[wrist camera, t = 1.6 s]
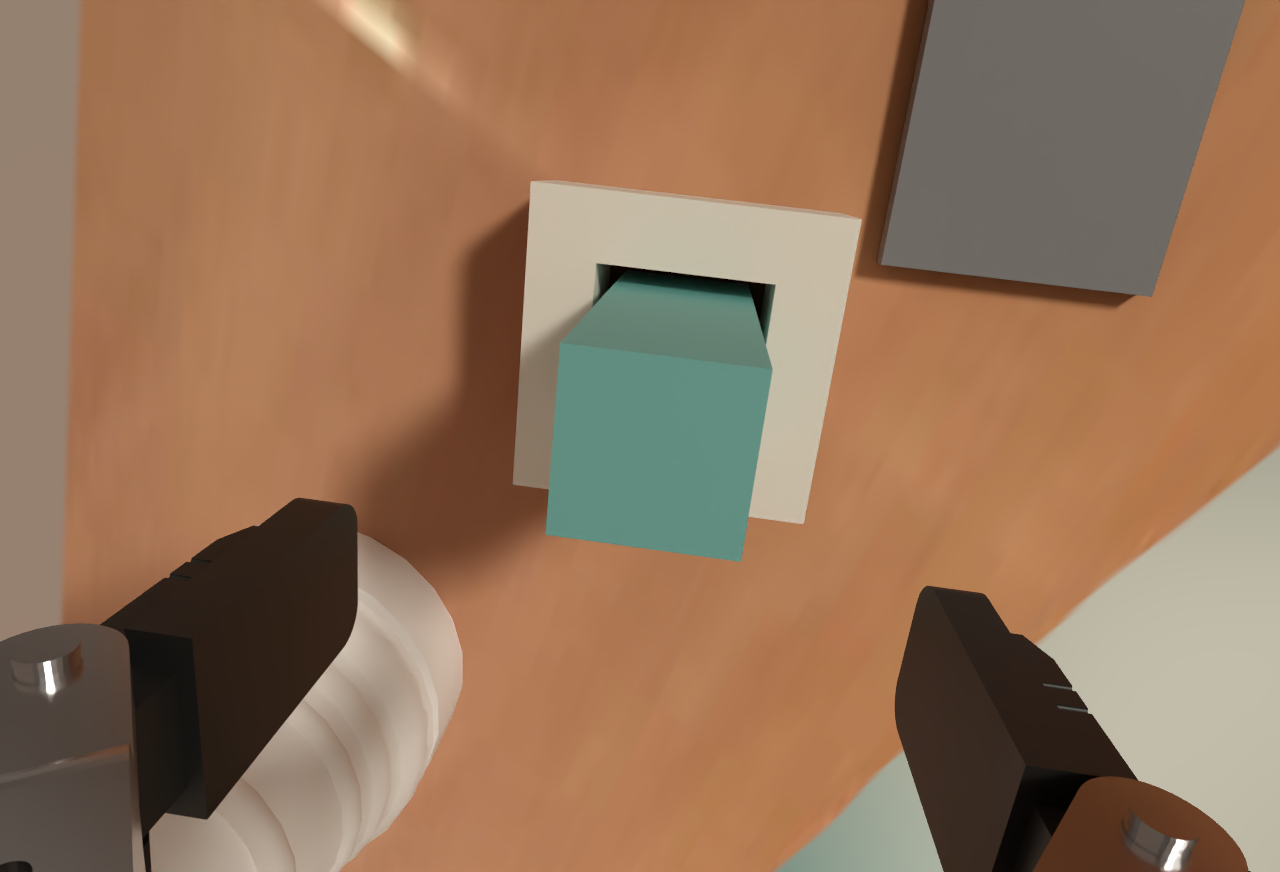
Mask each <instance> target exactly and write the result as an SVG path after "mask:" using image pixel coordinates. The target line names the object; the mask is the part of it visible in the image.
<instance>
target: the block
mask: <svg viewBox="0 0 1280 872" xmlns="http://www.w3.org/2000/svg"><path fill="white" fill-rule="evenodd" d="M772 371H773V369H772V365H771V362H770V358H769V355H768V351H767V348H766V344H765V341H764V337H763V334H762V330H761V327H760V323H759V320H758V316H757V313H756V309H755V306H754V302H753V299H752V295H751V292H750V288H749V285H748V284H740V283H732V282H723V281H715V280H707V279H698V278H690V277H682V276H674V275H665V274H657V273H649V272H640V271H632V270H626V271H625V273H624V274H623V275H622V276H621V277H620V278H619V279H618V280H617V281H616V282H615V283H614V284H613V286H612V287H611V288H610V289H609V290H608V291H607V292H606V293H605V294H604V295H603V296H602V298H601V299H600V300H599V301H598V302H597V303H596V304H595V305H594V306H593V307H592V308H591V310H590V311H589V312H588V313H587V314H586V315H585V316H584V317H583V318H582V319H581V320H580V322H579V323H578V324H577V325H576V326H575V327H574V328H573V329H572V330H571V331H570V332H569V334H568V335H567V336H566V337H565V338H564V339H563V340H562V341H561V342H560V350H559V364H558V377H557V390H556V403H555V416H554V429H553V442H552V455H551V468H550V482H549V495H548V508H547V521H546V534H545V535H552V536H559V537H566V538H573V539H581V540H588V541H595V542H602V543H609V544H617V545H624V546H631V547H638V548H645V549H653V550H660V551H667V552H674V553H681V554H689V555H696V556H703V557H710V558H717V559H725V560H732V561H739V562H741V558H742V552H743V546H744V540H745V534H746V528H747V522H748V516H749V510H750V504H751V498H752V492H753V486H754V480H755V474H756V468H757V462H758V456H759V450H760V444H761V438H762V431H763V425H764V419H765V413H766V407H767V401H768V395H769V389H770V383H771V377H772Z"/></svg>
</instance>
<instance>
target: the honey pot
mask: <svg viewBox="0 0 1280 872" xmlns="http://www.w3.org/2000/svg"><path fill="white" fill-rule="evenodd" d="M259 525H261V524H258V525H255V526H259ZM357 534H358V608H357V615H356V620H355V624H354V627H353V630H352V633H351V635H350V638H349V640H348V642H347V643H346V645H345V646H344V648H343V649H342V650H341V652H340V653H339V654H338V656H337V657H336V658H335V659H334V661H333V662H332V663H331V664H330V666H329V667H328V668H327V669H326V671H325V672H324V673H323V674H322V676H321V677H320V678H319V680H318V681H317V682H316V683H315V685H314V686H313V687H312V688H311V690H310V691H309V692H308V693H307V695H306V696H305V697H304V698H303V700H302V701H301V702H300V703H299V705H298V706H297V707H296V709H295V710H294V711H293V712H292V714H291V715H290V716H289V717H288V719H287V720H286V721H285V722H284V724H283V725H282V726H281V727H280V729H279V730H278V731H277V733H276V734H275V735H274V736H273V738H272V739H271V740H270V741H269V743H268V744H267V745H266V746H265V748H264V749H263V750H262V751H261V753H260V754H259V755H258V756H257V758H256V759H255V760H254V762H253V763H252V764H251V765H250V767H249V768H248V769H247V770H246V772H245V773H244V774H243V775H242V777H241V778H240V779H239V780H238V782H237V783H236V784H235V786H234V787H233V788H232V789H231V791H230V792H229V793H228V794H227V796H226V797H225V798H224V799H223V801H222V802H221V803H220V804H219V806H218V807H217V808H216V810H215V811H214V812H213V813H212V815H211V816H210V817H209V818H208V820H205V819H199V818H192V817H186V816H180V815H174V814H168V813H165V814H164V815H163V816H162V817H161V818H160V819H159V820H158V822H157V823H156V824H155V825H154V826H153V827H152V829H151V830H150V837H151V845H152V857H153V872H340V870H341V869H342V868H343V866H344V865H345V864H346V863H348V862H349V861H351V860H352V859H354V858H355V857H356V856H357V855H358V853H359V852H360V851H361V850H362V848H363V847H364V846H365V845H366V844H368V843H369V842H371V841H372V840H374V839H375V838H377V837H378V836H379V835H381V834H382V833H384V832H385V831H386V830H387V829H388V828H389V827H390V825H391V824H392V823H393V822H394V820H395V819H396V818H397V816H398V815H399V814H400V812H401V811H402V810H403V808H404V807H405V806H406V804H407V803H408V802H409V800H410V799H411V798H412V796H413V795H414V793H415V790H416V787H417V784H418V782H419V781H420V780H421V778H422V777H423V774H424V771H425V769H426V768H427V766H428V765H429V763H430V761H431V759H432V757H433V755H434V753H435V750H436V748H437V746H438V744H439V742H440V740H441V738H442V736H443V734H444V732H445V730H446V728H447V726H448V724H449V722H450V720H451V718H452V715H453V713H454V710H455V706H456V703H457V700H458V697H459V694H460V691H461V688H462V650H461V647H460V643H459V640H458V636H457V633H456V629H455V626H454V623H453V619H452V618H451V616H450V614H449V613H448V611H447V609H446V608H445V606H444V604H443V603H442V601H441V599H440V598H439V596H438V594H437V593H436V591H435V589H434V588H433V587H432V586H431V585H430V584H429V583H428V582H427V580H426V579H425V578H424V577H423V576H422V575H421V574H420V573H419V572H418V571H417V570H416V569H415V568H414V567H413V566H412V565H411V564H410V563H409V562H408V561H407V560H406V559H404V558H403V557H401V556H400V555H398V554H397V553H395V552H393V551H392V550H390V549H389V548H387V547H385V546H384V545H382V544H381V543H379V542H378V541H376V540H374V539H373V538H371V537H369V536H366V535H363V534H361V533H358V532H357Z"/></svg>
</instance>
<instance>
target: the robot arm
mask: <svg viewBox="0 0 1280 872" xmlns="http://www.w3.org/2000/svg"><path fill="white" fill-rule="evenodd" d="M357 608H358V534H357V516H356V512H355V510H354V508H353V507H352V506H351V505H348V504H341V503H334V502H327V501H319V500H312V499H305V498H296V499H294V500H292V501H291V502H290V503H288V504H287V505H286V506H284V507H283V508H282V509H280V510H279V511H278V512H276V513H275V514H274V515H273V516H271V517H270V518H269V519H267V520H266V521H265V522H263V523H262V524H261V525H259V526H251V527H249V528H246V529H243V530H241V531H238V532H236V533H233V534H230V535H228V536H225V537H223V538H220V539H217V540H216V541H215V542H213V543H212V544H210V545H209V546H208V547H206V548H205V549H204V550H202V551H201V552H199V553H198V554H197V555H195V556H194V557H193V558H192V560H191V562H186V563H184V564H183V565H182V566H180V567H179V568H177V569H176V570H175V571H173V572H172V573H171V574H170V577H169V578H164V579H162V580H161V581H159V582H158V583H157V584H155V585H154V586H153V587H151V588H150V589H148V590H147V591H146V592H144V593H143V594H142V595H140V596H139V597H137V598H136V599H135V600H133V601H132V602H131V603H129V604H128V605H126V606H125V607H124V608H122V609H121V610H120V611H118V612H117V613H115V614H114V615H113V616H111V617H110V618H109V619H107V620H106V621H104V622H103V623H102V624H100V625H95V624H64V625H56V626H50V627H45V628H40V629H36V630H32V631H29V632H25V633H22V634H19V635H16V636H13V637H10V638H8V639H6V640H4V641H1V642H0V872H153V857H152V845H151V837H150V830H151V829H152V827H153V826H154V825H155V824H156V823H157V822H158V820H159V819H160V818H161V817H162V816H163V815H164V814H165V813H168V814H174V815H180V816H186V817H192V818H199V819H205V820H208V818H209V817H210V816H211V815H212V813H213V812H214V811H215V810H216V808H217V807H218V806H219V804H220V803H221V802H222V801H223V799H224V798H225V797H226V796H227V794H228V793H229V792H230V791H231V789H232V788H233V787H234V786H235V784H236V783H237V782H238V780H239V779H240V778H241V777H242V775H243V774H244V773H245V772H246V770H247V769H248V768H249V767H250V765H251V764H252V763H253V762H254V760H255V759H256V758H257V756H258V755H259V754H260V753H261V751H262V750H263V749H264V748H265V746H266V745H267V744H268V743H269V741H270V740H271V739H272V738H273V736H274V735H275V734H276V733H277V731H278V730H279V729H280V727H281V726H282V725H283V724H284V722H285V721H286V720H287V719H288V717H289V716H290V715H291V714H292V712H293V711H294V710H295V709H296V707H297V706H298V705H299V703H300V702H301V701H302V700H303V698H304V697H305V696H306V695H307V693H308V692H309V691H310V690H311V688H312V687H313V686H314V685H315V683H316V682H317V681H318V680H319V678H320V677H321V676H322V674H323V673H324V672H325V671H326V669H327V668H328V667H329V666H330V664H331V663H332V662H333V661H334V659H335V658H336V657H337V656H338V654H339V653H340V652H341V650H342V649H343V648H344V646H345V645H346V643H347V642H348V640H349V638H350V635H351V633H352V630H353V627H354V624H355V620H356V615H357ZM1087 710H1088V708H1087V707H1086V705H1085V704H1084V702H1083V701H1082V699H1081V698H1080V697H1079V695H1078V694H1077V692H1076V691H1072V685H1071V684H1070V682H1069V681H1068V679H1067V678H1066V676H1065V675H1064V674H1063V672H1062V671H1061V669H1060V668H1059V667H1058V665H1057V664H1056V662H1055V661H1054V659H1052V658H1051V657H1050V656H1048V655H1047V654H1046V653H1045V652H1043V651H1042V650H1041V649H1040V648H1038V647H1037V646H1036V645H1034V644H1033V643H1032V642H1031V641H1029V640H1028V639H1027V638H1025V637H1024V636H1023V635H1019V634H1012V633H1010V632H1009V630H1008V629H1007V627H1006V626H1005V624H1004V623H1003V621H1002V620H1001V618H1000V616H999V615H998V613H997V612H996V610H995V609H994V607H993V606H992V604H991V602H990V601H989V599H988V598H987V597H986V595H984V594H983V593H977V592H969V591H962V590H955V589H948V588H940V587H933V586H926V587H925V588H923V590H922V591H921V593H920V595H919V598H918V601H917V604H916V608H915V612H914V616H913V620H912V624H911V628H910V632H909V636H908V640H907V644H906V648H905V652H904V657H903V661H902V665H901V669H900V673H899V677H898V681H897V686H896V694H895V719H896V726H897V730H898V733H899V736H900V740H901V743H902V746H903V749H904V752H905V755H906V758H907V761H908V764H909V767H910V770H911V773H912V776H913V779H914V782H915V785H916V788H917V791H918V795H919V797H920V801H921V804H922V806H923V810H924V813H925V816H926V819H927V822H928V825H929V828H930V831H931V834H932V837H933V840H934V843H935V846H936V849H937V853H938V855H939V859H940V862H941V865H942V868H943V871H944V872H1250V871H1248V867H1247V863H1246V859H1245V857H1244V855H1243V853H1242V852H1241V850H1240V848H1239V847H1238V845H1237V844H1236V843H1235V841H1234V840H1233V839H1232V838H1231V837H1230V836H1229V834H1228V833H1227V832H1226V831H1225V830H1224V829H1223V828H1222V827H1221V826H1220V825H1218V824H1217V823H1216V822H1215V821H1214V820H1213V819H1211V818H1210V817H1209V816H1208V815H1206V814H1205V813H1203V812H1202V811H1201V810H1199V809H1198V808H1196V807H1195V806H1193V805H1192V804H1190V803H1188V802H1187V801H1185V800H1183V799H1181V798H1179V797H1178V796H1176V795H1174V794H1172V793H1170V792H1167V791H1165V790H1163V789H1161V788H1158V787H1156V786H1153V785H1150V784H1147V783H1145V782H1141V781H1138V779H1137V778H1136V776H1135V775H1134V774H1133V772H1132V771H1131V769H1130V768H1129V767H1128V765H1127V764H1126V762H1125V761H1124V759H1123V758H1122V756H1121V755H1120V754H1119V752H1118V751H1117V749H1116V748H1115V746H1114V745H1113V744H1112V742H1111V741H1110V739H1109V738H1108V736H1107V735H1106V734H1105V732H1104V731H1103V729H1102V728H1101V726H1100V725H1099V724H1098V722H1097V721H1096V719H1095V718H1094V716H1093V715H1092V714H1088V711H1087Z"/></svg>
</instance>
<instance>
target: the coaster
mask: <svg viewBox="0 0 1280 872" xmlns="http://www.w3.org/2000/svg"><path fill="white" fill-rule="evenodd" d="M1244 2H1245V0H929V4H928V9H927V13H926V18H925V23H924V28H923V33H922V38H921V43H920V48H919V53H918V58H917V63H916V68H915V73H914V78H913V83H912V88H911V93H910V98H909V103H908V108H907V113H906V118H905V123H904V128H903V133H902V138H901V143H900V148H899V153H898V158H897V163H896V168H895V173H894V178H893V183H892V188H891V193H890V198H889V203H888V208H887V213H886V218H885V223H884V228H883V233H882V238H881V243H880V248H879V253H878V258H877V263H879V264H881V265H888V266H896V267H905V268H913V269H922V270H930V271H939V272H947V273H955V274H964V275H972V276H981V277H989V278H998V279H1006V280H1014V281H1023V282H1031V283H1040V284H1048V285H1057V286H1065V287H1074V288H1082V289H1090V290H1099V291H1107V292H1116V293H1124V294H1133V295H1141V296H1150V297H1152V295H1153V291H1154V288H1155V285H1156V282H1157V279H1158V276H1159V272H1160V269H1161V266H1162V263H1163V260H1164V256H1165V253H1166V250H1167V247H1168V244H1169V241H1170V237H1171V234H1172V231H1173V228H1174V225H1175V221H1176V218H1177V215H1178V212H1179V209H1180V206H1181V202H1182V199H1183V196H1184V193H1185V190H1186V187H1187V183H1188V180H1189V177H1190V174H1191V171H1192V167H1193V164H1194V161H1195V158H1196V155H1197V152H1198V148H1199V145H1200V142H1201V139H1202V136H1203V132H1204V129H1205V126H1206V123H1207V120H1208V117H1209V113H1210V110H1211V107H1212V104H1213V101H1214V98H1215V94H1216V91H1217V88H1218V85H1219V82H1220V78H1221V75H1222V72H1223V69H1224V66H1225V63H1226V59H1227V56H1228V53H1229V50H1230V47H1231V43H1232V40H1233V37H1234V34H1235V31H1236V28H1237V24H1238V21H1239V18H1240V15H1241V12H1242V8H1243V5H1244Z"/></svg>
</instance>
